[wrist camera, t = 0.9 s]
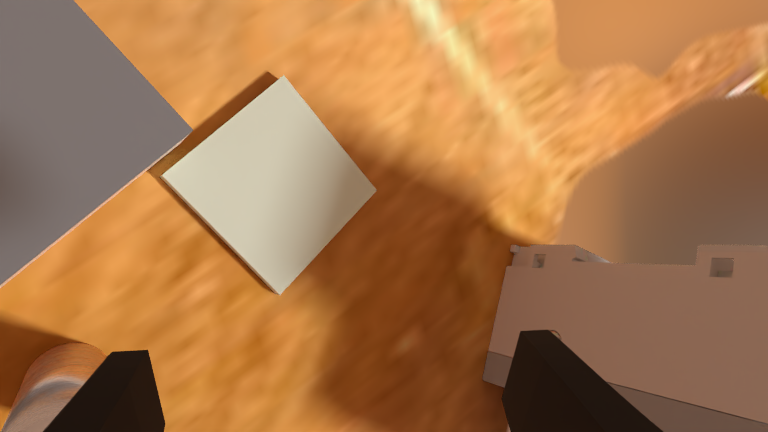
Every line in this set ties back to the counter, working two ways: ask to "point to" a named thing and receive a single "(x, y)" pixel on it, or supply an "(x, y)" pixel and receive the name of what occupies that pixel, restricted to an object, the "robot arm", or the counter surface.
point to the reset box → (68, 126)
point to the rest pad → (272, 184)
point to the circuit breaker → (650, 329)
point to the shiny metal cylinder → (51, 385)
